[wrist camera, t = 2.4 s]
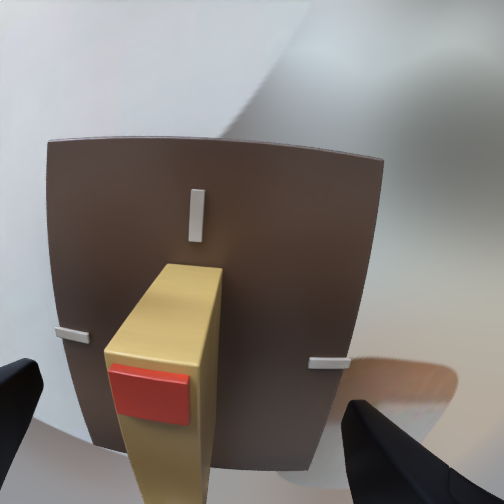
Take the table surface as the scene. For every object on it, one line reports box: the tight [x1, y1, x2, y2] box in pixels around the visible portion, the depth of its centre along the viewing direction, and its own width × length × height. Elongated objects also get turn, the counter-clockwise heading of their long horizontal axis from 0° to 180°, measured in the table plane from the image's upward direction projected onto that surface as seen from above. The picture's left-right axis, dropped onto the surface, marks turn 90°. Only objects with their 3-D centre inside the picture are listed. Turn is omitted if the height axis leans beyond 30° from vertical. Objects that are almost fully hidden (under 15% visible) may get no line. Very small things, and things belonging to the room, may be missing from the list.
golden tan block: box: [104, 264, 223, 504], centre depth 7 cm, size 6×2×5 cm, turn 175°
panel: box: [46, 136, 384, 471], centre depth 11 cm, size 13×10×3 cm
